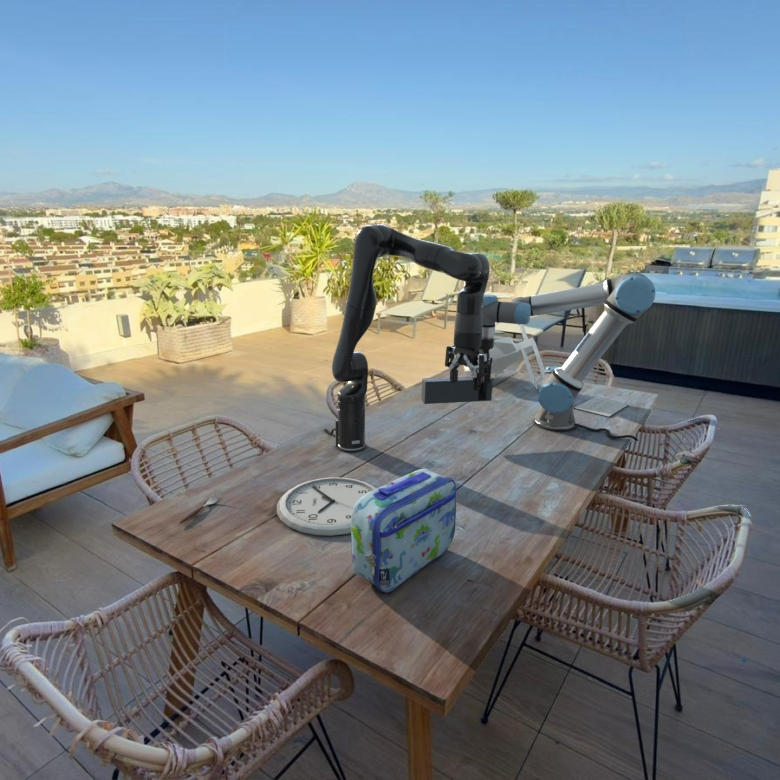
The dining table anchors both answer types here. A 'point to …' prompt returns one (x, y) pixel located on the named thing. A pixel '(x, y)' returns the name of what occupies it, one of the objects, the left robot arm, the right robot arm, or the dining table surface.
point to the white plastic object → (513, 355)
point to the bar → (451, 390)
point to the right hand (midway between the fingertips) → (479, 397)
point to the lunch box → (402, 527)
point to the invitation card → (601, 406)
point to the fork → (209, 502)
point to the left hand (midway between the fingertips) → (464, 386)
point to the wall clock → (322, 505)
